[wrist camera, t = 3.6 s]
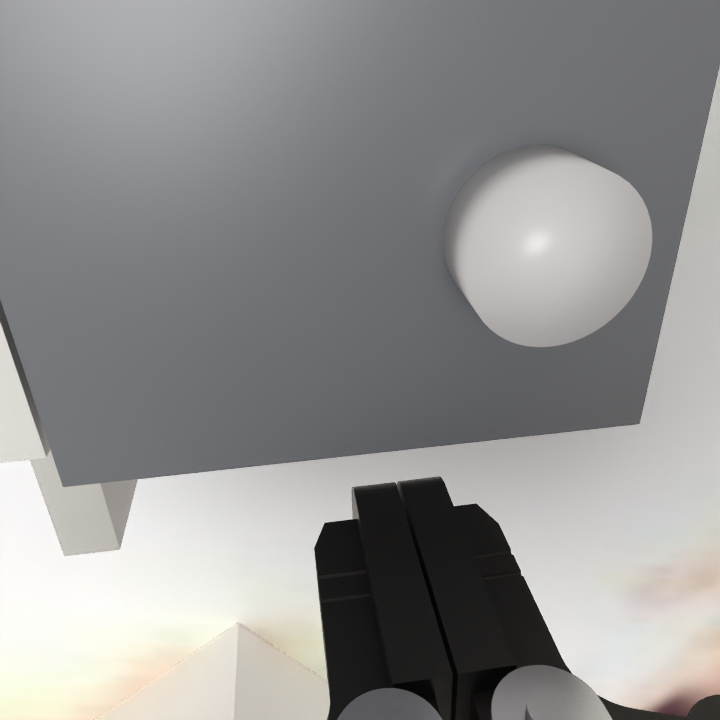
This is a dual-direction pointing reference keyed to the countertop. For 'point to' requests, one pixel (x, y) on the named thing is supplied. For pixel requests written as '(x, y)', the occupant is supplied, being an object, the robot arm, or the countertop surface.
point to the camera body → (340, 220)
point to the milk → (230, 685)
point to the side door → (28, 442)
